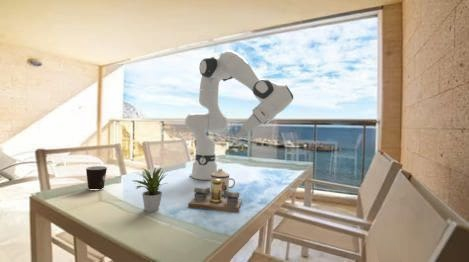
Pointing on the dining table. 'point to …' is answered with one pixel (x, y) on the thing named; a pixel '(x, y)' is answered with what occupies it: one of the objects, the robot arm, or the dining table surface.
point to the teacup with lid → (225, 178)
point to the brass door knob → (216, 190)
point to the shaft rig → (204, 202)
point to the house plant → (151, 190)
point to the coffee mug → (96, 177)
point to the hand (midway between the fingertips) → (238, 136)
